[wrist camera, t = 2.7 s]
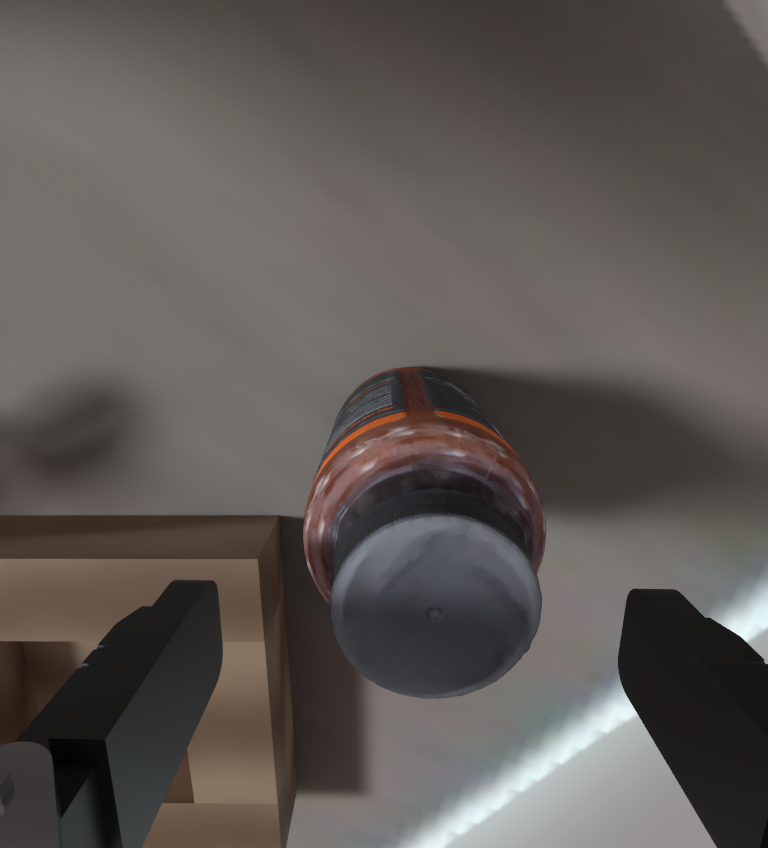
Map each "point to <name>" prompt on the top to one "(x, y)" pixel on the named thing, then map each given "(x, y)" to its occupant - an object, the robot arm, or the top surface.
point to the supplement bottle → (425, 538)
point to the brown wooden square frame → (141, 586)
